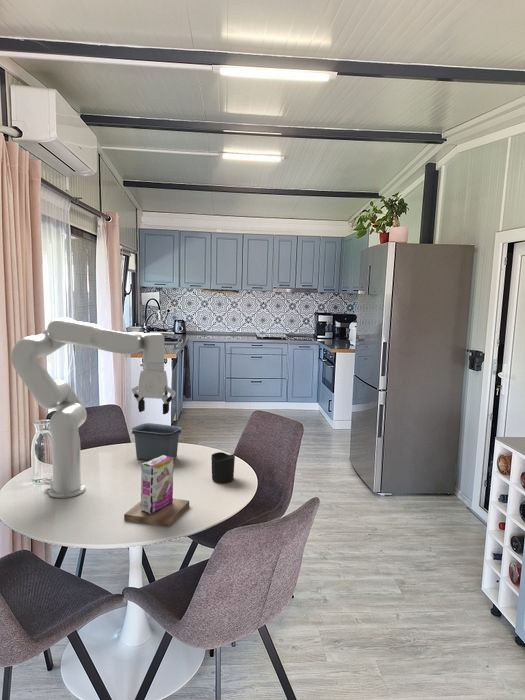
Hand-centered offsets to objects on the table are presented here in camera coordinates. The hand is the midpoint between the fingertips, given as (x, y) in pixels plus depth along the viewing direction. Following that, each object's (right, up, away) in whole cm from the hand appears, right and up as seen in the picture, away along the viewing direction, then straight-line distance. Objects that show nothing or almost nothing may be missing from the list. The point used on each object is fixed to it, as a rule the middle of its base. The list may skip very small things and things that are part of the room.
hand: (153, 412), depth 172 cm
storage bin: (-8, -27, +41) cm, 49 cm away
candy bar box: (+5, -30, -15) cm, 34 cm away
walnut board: (+5, -32, -15) cm, 36 cm away
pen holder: (+24, -30, +16) cm, 42 cm away
